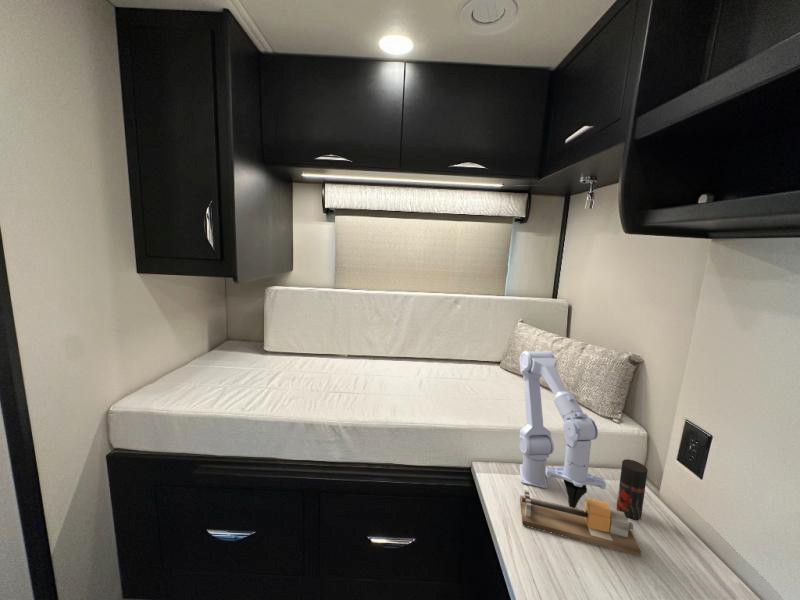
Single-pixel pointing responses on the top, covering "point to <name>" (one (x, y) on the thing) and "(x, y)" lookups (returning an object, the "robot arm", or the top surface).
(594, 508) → the orange notched block
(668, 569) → the top surface
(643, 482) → the deodorant
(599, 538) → the cord board
